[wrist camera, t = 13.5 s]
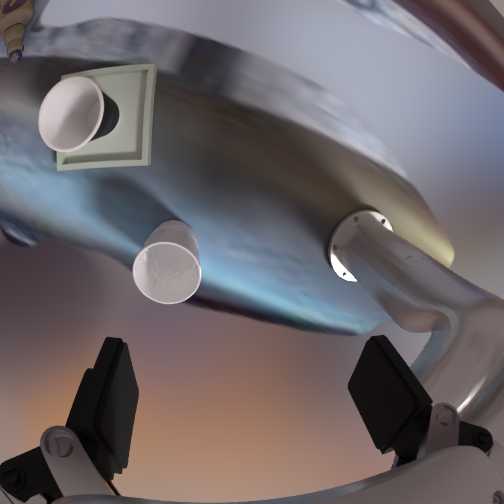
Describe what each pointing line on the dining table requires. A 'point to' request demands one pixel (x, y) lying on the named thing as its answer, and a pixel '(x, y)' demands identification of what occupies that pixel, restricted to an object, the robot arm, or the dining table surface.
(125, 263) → the dining table surface
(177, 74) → the dining table surface
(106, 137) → the tray
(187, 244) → the white cup
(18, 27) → the decorative bottle
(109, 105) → the dixie cup
